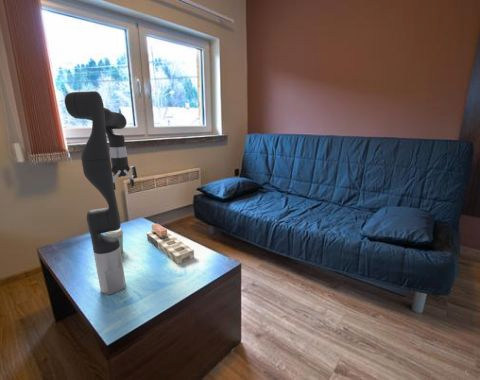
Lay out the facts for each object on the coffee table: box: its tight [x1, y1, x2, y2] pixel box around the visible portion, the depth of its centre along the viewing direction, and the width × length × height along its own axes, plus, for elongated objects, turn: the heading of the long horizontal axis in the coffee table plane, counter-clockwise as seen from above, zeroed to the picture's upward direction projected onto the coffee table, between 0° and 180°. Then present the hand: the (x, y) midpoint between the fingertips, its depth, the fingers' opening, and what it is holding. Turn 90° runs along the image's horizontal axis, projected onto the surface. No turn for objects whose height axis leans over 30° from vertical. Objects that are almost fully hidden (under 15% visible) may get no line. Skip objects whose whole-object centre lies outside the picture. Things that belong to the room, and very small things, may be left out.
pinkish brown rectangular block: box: [151, 223, 168, 240], centre depth 143 cm, size 12×4×8 cm, turn 41°
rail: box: [146, 230, 195, 265], centre depth 136 cm, size 36×9×4 cm, turn 41°
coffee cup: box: [104, 227, 124, 253], centre depth 132 cm, size 8×8×12 cm
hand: (123, 188), depth 131 cm, fingers open, 8 cm apart
